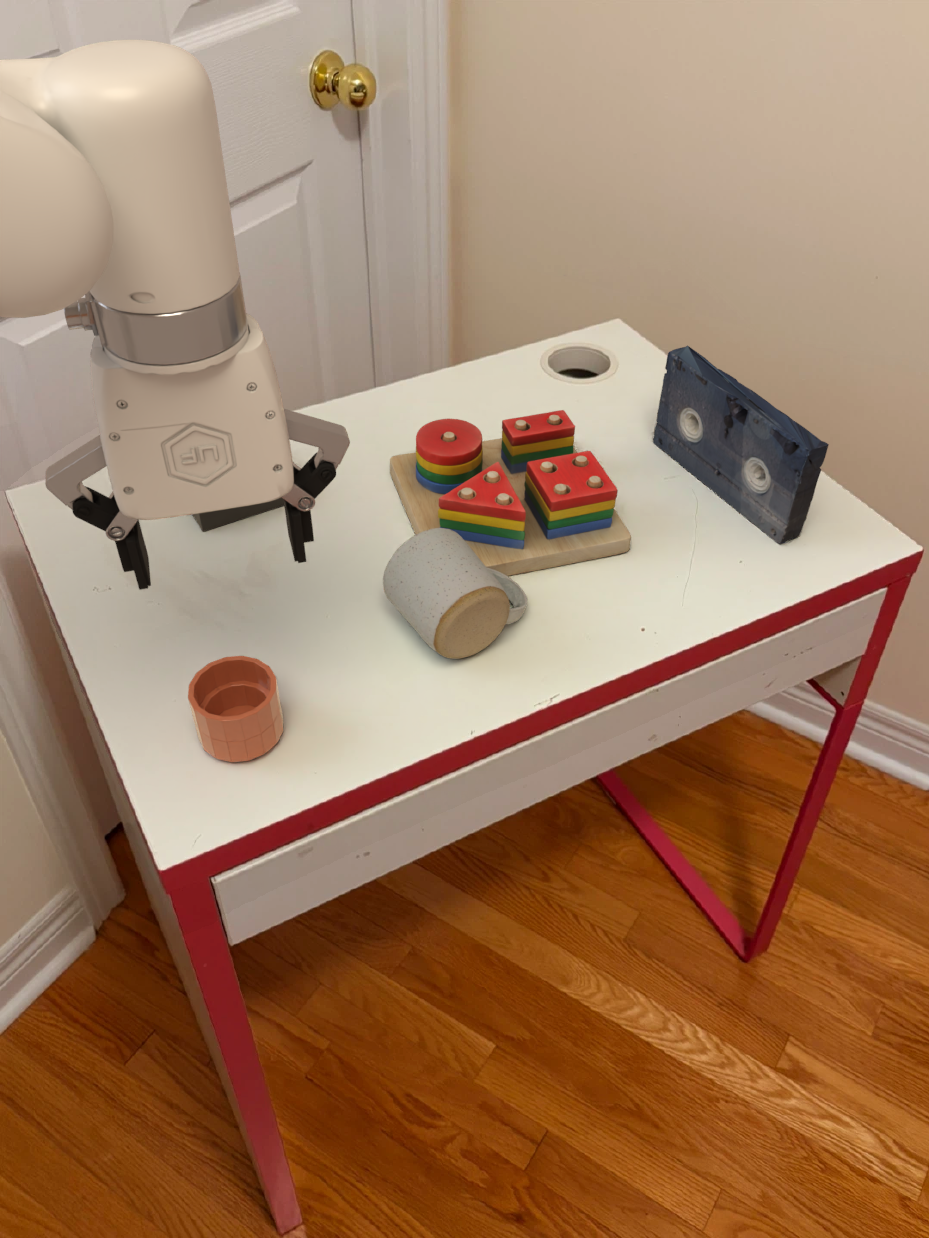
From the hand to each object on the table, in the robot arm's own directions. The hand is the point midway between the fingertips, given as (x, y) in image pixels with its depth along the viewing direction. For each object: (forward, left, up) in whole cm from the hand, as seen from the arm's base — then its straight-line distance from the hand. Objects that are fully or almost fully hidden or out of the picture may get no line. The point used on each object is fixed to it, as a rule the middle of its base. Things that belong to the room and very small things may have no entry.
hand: (222, 561), depth 66 cm
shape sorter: (+12, +29, -15) cm, 35 cm away
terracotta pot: (0, -2, -15) cm, 15 cm away
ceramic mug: (+12, +14, -15) cm, 24 cm away
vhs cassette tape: (+31, +38, -15) cm, 51 cm away
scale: (-13, +25, -15) cm, 32 cm away
